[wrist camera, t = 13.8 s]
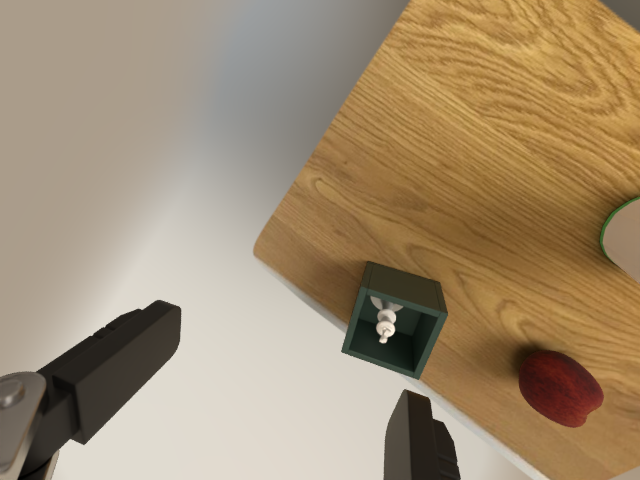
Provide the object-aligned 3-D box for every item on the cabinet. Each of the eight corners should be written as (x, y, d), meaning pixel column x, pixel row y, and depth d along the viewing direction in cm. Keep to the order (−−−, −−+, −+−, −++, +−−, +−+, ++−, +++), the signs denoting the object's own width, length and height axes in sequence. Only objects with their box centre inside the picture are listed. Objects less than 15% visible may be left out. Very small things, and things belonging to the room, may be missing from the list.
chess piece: (414, 288, 39) (418, 334, 30) (396, 316, 41) (395, 367, 32) (380, 271, 39) (373, 312, 30) (364, 299, 41) (353, 346, 32)
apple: (544, 396, 39) (576, 455, 32) (494, 363, 40) (514, 414, 32) (591, 362, 36) (639, 419, 29) (537, 327, 37) (570, 374, 29)
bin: (350, 318, 43) (340, 352, 36) (367, 260, 40) (360, 286, 33) (416, 340, 42) (418, 380, 35) (440, 282, 38) (448, 314, 31)
